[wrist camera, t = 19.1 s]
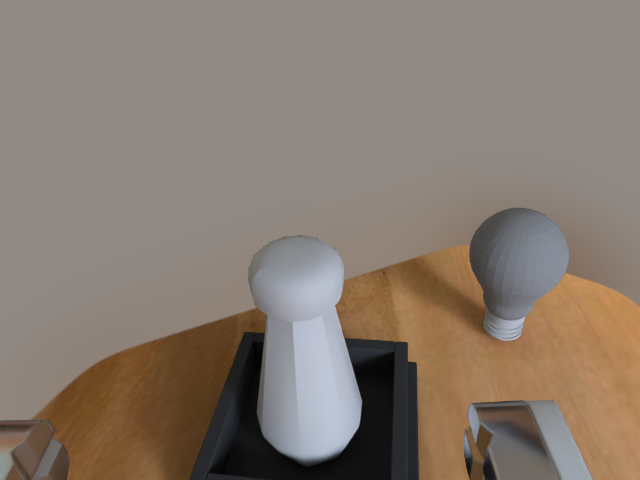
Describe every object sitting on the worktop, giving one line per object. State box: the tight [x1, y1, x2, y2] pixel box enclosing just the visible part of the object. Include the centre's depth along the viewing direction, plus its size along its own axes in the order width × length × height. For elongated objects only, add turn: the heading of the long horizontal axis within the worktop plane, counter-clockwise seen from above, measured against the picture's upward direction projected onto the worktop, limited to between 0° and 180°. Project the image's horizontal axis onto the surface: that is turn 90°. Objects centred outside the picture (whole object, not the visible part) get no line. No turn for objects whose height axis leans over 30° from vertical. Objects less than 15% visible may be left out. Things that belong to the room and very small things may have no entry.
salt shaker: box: [248, 235, 362, 468], centre depth 26 cm, size 6×6×13 cm
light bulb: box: [469, 208, 569, 341], centre depth 34 cm, size 6×6×10 cm
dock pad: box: [190, 332, 419, 480], centre depth 29 cm, size 12×12×4 cm
